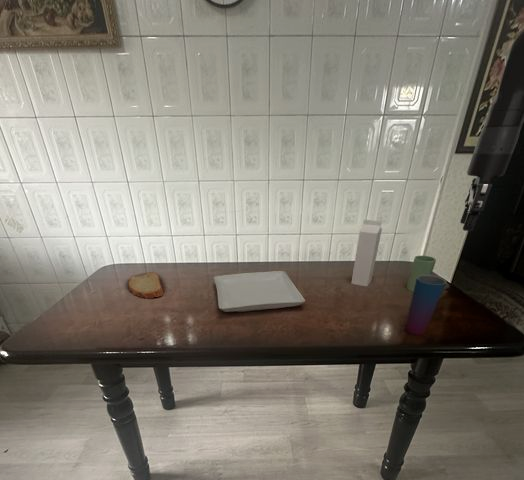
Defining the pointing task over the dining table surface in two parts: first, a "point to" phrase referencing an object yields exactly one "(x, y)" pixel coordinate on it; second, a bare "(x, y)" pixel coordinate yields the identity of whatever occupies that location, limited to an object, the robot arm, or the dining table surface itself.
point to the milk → (366, 252)
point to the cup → (424, 302)
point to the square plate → (256, 291)
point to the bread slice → (146, 285)
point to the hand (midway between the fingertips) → (465, 226)
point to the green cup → (420, 269)
